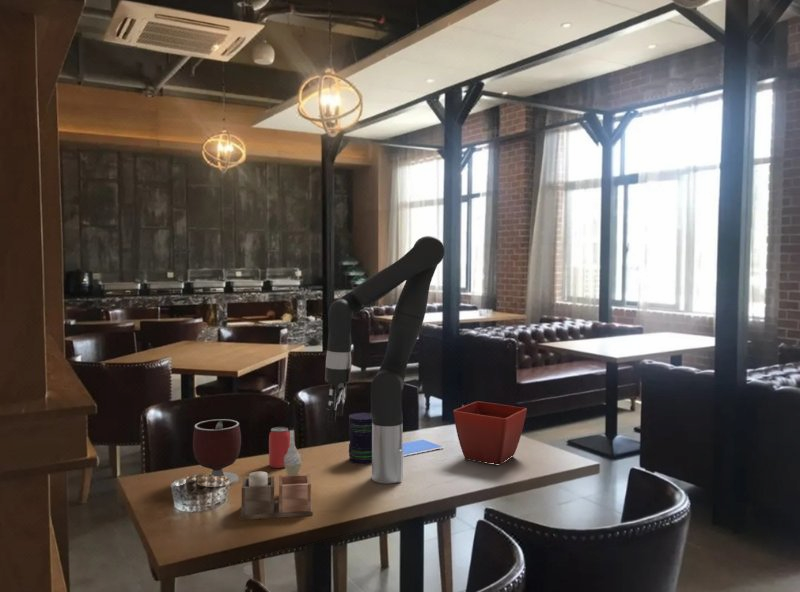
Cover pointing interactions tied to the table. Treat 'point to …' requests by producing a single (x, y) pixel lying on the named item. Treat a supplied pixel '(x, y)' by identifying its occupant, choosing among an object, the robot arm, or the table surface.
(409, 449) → the tablet computer
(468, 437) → the plant pot
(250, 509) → the condiment caddy
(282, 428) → the beer can
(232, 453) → the mate gourd
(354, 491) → the table surface
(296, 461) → the ice cream cone
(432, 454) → the table surface
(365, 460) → the storage jar
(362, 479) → the table surface
